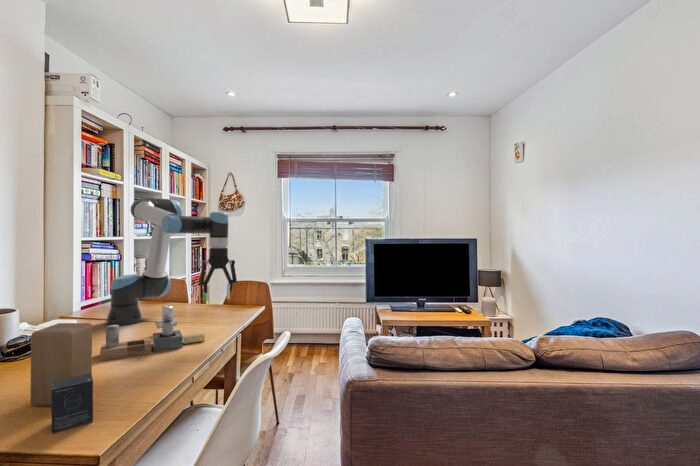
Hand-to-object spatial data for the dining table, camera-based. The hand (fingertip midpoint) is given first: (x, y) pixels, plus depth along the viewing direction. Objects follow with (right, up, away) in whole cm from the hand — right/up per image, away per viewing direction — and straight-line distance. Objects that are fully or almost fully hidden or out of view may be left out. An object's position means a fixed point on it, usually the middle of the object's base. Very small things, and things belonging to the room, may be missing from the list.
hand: (217, 299), depth 152 cm
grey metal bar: (-17, -17, -10) cm, 26 cm away
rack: (-28, -17, -20) cm, 39 cm away
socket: (-17, -17, -10) cm, 26 cm away
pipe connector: (-25, -17, +4) cm, 31 cm away
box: (-10, -18, -67) cm, 70 cm away
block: (-23, -17, -55) cm, 62 cm away
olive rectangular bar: (-8, -17, -5) cm, 19 cm away
